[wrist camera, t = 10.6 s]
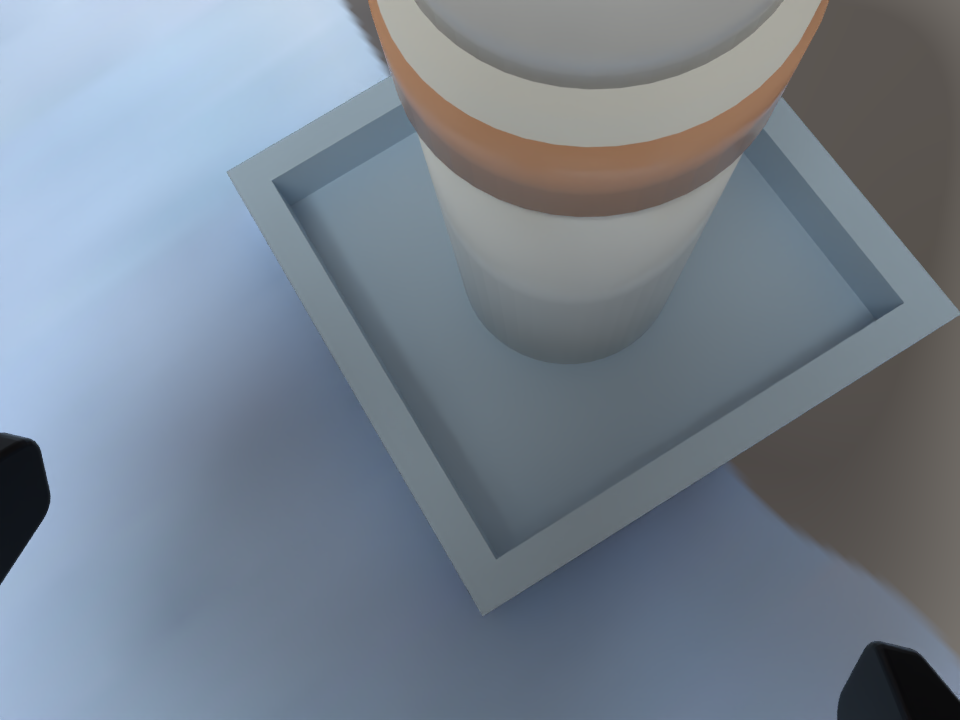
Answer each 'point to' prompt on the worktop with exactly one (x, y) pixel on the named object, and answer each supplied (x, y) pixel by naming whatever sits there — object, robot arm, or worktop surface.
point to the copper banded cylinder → (584, 146)
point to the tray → (585, 386)
